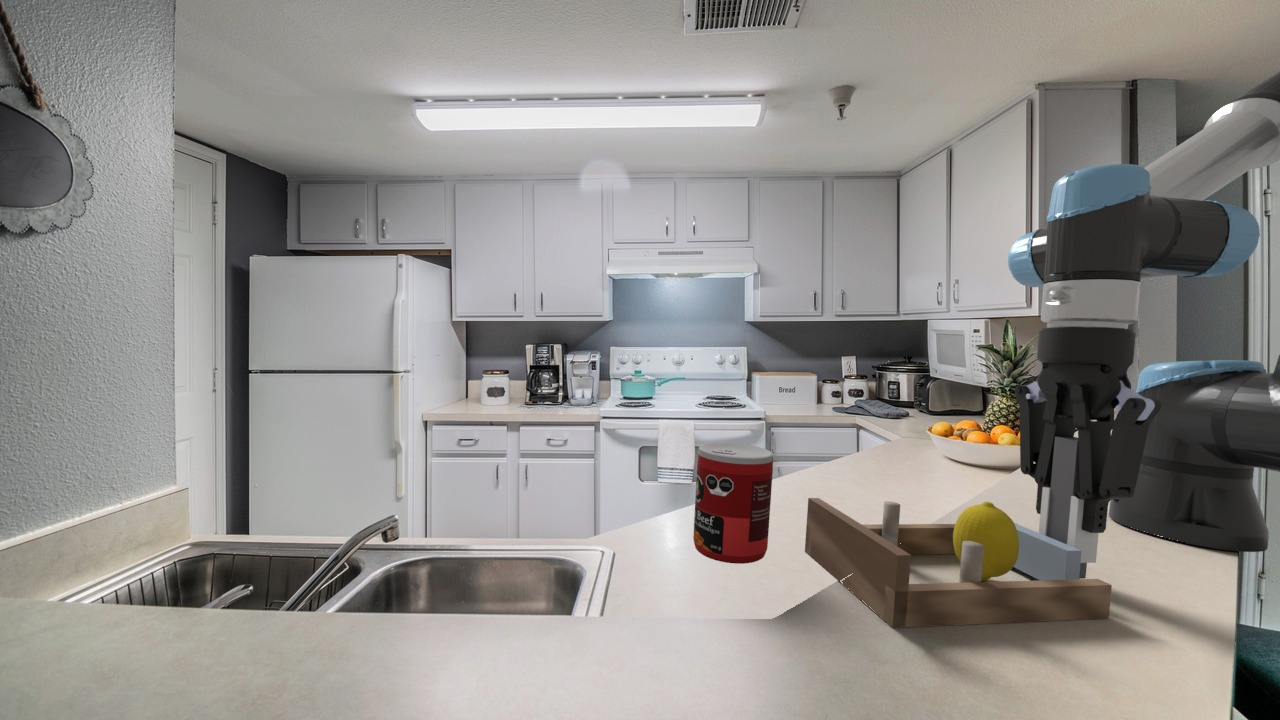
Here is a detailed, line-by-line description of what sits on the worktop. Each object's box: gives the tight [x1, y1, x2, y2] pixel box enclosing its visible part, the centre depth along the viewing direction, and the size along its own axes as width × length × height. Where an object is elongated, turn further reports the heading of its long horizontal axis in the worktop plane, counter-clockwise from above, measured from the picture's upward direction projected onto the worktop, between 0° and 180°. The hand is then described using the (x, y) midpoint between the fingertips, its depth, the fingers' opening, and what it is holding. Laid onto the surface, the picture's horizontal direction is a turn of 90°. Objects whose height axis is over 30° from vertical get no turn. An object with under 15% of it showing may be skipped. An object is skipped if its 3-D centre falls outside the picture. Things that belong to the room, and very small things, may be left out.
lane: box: [804, 497, 1113, 629], centre depth 52 cm, size 21×15×6 cm
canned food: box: [692, 442, 774, 565], centre depth 58 cm, size 8×8×11 cm
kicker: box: [1013, 436, 1088, 580], centre depth 54 cm, size 6×8×14 cm
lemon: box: [953, 501, 1019, 582], centre depth 53 cm, size 6×6×8 cm
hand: (1065, 554), depth 55 cm, fingers closed on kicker, 2 cm apart
